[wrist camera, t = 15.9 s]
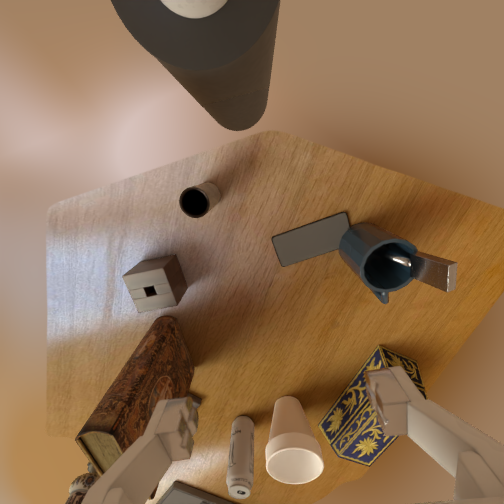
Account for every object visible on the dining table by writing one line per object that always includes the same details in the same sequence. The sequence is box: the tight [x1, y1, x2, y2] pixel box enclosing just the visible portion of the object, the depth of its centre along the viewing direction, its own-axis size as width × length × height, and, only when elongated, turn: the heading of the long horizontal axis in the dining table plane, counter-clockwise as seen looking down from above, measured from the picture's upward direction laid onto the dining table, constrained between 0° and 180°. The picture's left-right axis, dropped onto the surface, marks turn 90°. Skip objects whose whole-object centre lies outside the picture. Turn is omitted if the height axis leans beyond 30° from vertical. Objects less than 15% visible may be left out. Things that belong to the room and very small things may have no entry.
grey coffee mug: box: [338, 223, 418, 304], centre depth 42 cm, size 13×9×11 cm
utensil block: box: [122, 254, 188, 313], centre depth 47 cm, size 8×8×7 cm
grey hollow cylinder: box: [179, 183, 220, 218], centre depth 40 cm, size 4×4×10 cm
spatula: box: [372, 248, 457, 292], centre depth 39 cm, size 4×1×17 cm, turn 13°
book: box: [75, 316, 194, 500], centre depth 45 cm, size 16×6×25 cm, turn 12°
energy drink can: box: [226, 416, 254, 499], centre depth 58 cm, size 6×6×15 cm
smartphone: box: [272, 212, 350, 267], centre depth 47 cm, size 7×1×15 cm
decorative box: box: [318, 345, 428, 467], centre depth 56 cm, size 11×30×9 cm, turn 157°
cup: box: [265, 396, 324, 484], centre depth 56 cm, size 12×12×14 cm
